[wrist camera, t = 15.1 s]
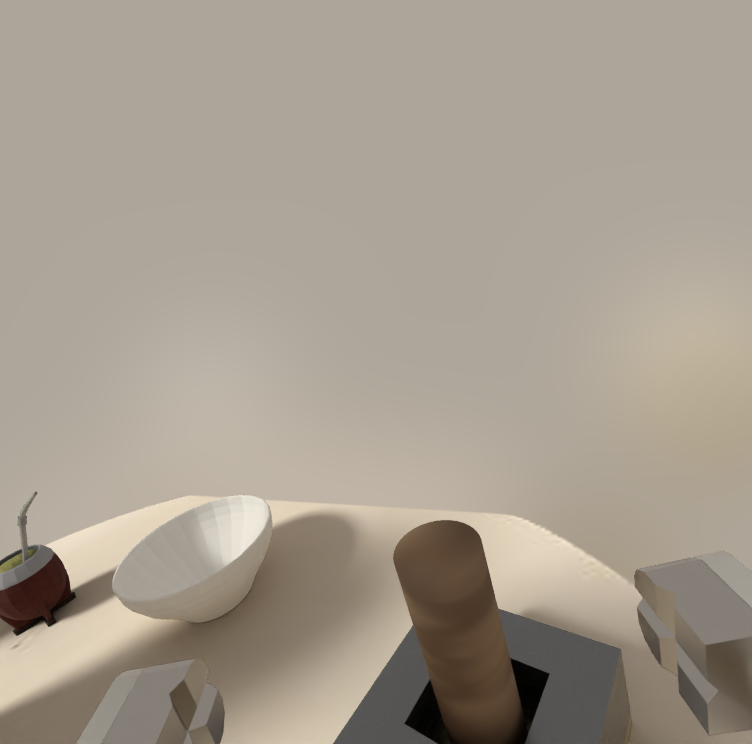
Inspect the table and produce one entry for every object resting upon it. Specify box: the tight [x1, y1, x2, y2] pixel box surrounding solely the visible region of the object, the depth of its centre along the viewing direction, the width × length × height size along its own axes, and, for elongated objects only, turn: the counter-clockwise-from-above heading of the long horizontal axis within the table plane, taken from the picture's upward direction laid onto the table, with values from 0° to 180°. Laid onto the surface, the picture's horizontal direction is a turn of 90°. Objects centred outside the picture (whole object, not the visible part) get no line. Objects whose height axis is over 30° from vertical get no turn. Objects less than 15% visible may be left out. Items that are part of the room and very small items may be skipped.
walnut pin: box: [393, 520, 528, 744], centre depth 24 cm, size 4×4×15 cm
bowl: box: [112, 495, 272, 623], centre depth 47 cm, size 16×16×7 cm
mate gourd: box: [0, 492, 76, 636], centre depth 50 cm, size 8×8×15 cm
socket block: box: [333, 609, 632, 744], centre depth 25 cm, size 12×12×6 cm
